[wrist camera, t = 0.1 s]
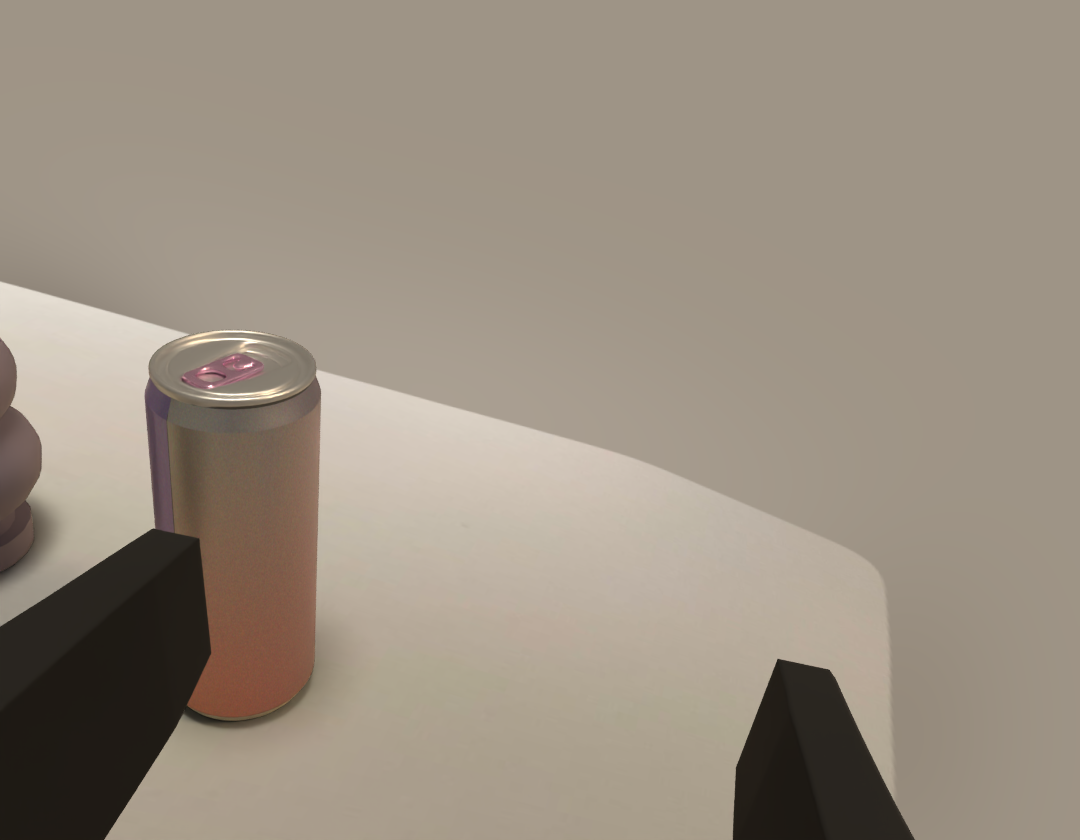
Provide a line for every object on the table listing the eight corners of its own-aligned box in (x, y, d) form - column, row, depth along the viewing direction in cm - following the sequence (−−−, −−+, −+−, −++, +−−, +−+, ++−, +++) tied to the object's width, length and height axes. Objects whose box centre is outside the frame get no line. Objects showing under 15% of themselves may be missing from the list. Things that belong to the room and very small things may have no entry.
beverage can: (136, 683, 38) (103, 360, 31) (245, 609, 43) (237, 313, 35) (240, 753, 36) (230, 421, 28) (342, 666, 40) (356, 363, 33)
